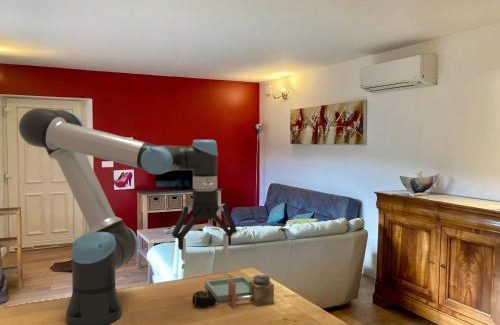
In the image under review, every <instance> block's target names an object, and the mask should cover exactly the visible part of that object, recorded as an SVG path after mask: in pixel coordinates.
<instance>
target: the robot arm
mask: <svg viewBox="0 0 500 325" xmlns="http://www.w3.org/2000/svg"><path fill="white" fill-rule="evenodd" d="M18 131H19V134H20V136H21V138H22V140H24V142H25V143H27V144H28V145H31V146H33V147H38V148H43V149H45V150H46V152H47V155H48V157H49V158H51V159H52V160H55V161H57V163H58V166H59V168H60V169H61V172H62V174H63V176H64V178H65V180H66V182H67V184H68V186H69V189H70V191H71V193H72V194H73V197H74V199H75V202H76V204H77V205H78V207H79V210H80V212H81V214H82V216H83V218H84V221H85V222H86V224H87V226H88V232H87V233H86V234H85V233H84V234H82V235H80V236H79V237H77V238H76V239H75V240H74V241H73V243H72V246H71V247H72V248H71V254H70V255H71V274H72V275H71V276H72V278H71V281H72V284H71V285H72V293H71V295H70V296H71V297H70V299H69V302H68V305H67V309H66V311H65V322H66V323H67V324H68V325H108V324H112V323H114V322H116V321H117V320H119V319H120V317H121V316H122V314H123V311H122V309H123V308H122V303H121V299H120V297H119V295H118V294H119V293H118V292H117V288H116V270H118V269H119V268H121V267H122V266H123V265H125V264H127V263H129V262H130V261H131V260H132V259H133V258H134V256H135V255H136V253H137V250H138V247H139V241H138V240H139V239H138V236H137V234H136V233H135V231H133V229H131V228H129V227H128V226H126V224H125V223H124V220H123V218H121V217H118V216H116V214H115V212H114V211H113V209H112V206H111V204H110V203H109V200H108V198H107V196H106V194H105V192H104V190H103V188H102V186H101V183H100V182H99V179H98V177H97V175H96V173H95V171H94V169H93V167H92V164H91V163H90V162H91V161H89V159H88V156H90V157H94V158H98V159H102V160H106V161H111V162H114V163H118V164H123V165H126V166H130V167H134V168H136V169H137V168H138V169H141V170H144V171H146V172H147V173H148V174H152V175H163V174H165V173H167V172H173V171H192V189H194V190H193V191H192V205H191V206H187V205H183V206H182V209H181V214H180V215H179V216H180V217H179V218H178V220H177V222H176V223H175V227H174V229H173V231H172V232H171V236H172V237H173V238H174V239H177V248H178V250H180V251H181V253H180V254H181V255H180V258H181V260H182V261H183V262H185V261H186V260H187V241H186V240H187V239H186V238H185V237H186V235H187V234H188V233H189V231H190V230H191V229H192V228H193V226H194V225H196V223H197V222H198V221H205V220H208V221H210V220H212V219H213V220H214V221H215V223H217V225H218V226H219V227H220V228H221V229H222V230H223V231H224V233H223V234H222V236H223V237H222V238H223V239H222V243H223V245H222V248H223V249H222V255H224V256H225V257H229V246H231V244H232V236H233V234H236V233H237V232H238V229H237V228H236V225H235V224H234V222H233V219H232V217H231V215H230V214H229V210H228V209H229V208H228V204H225V203H221V204H218V190H216V189H217V188H218V156H219V154H218V144H217V141H216V140H214V139H193V141H192V144H191V145H188V146H187V145H165V144H164V145H158V144H154V143H150V142H146V141H145V142H144V141H141V140H138V139H133V138H129V137H126V136H122V135H117V134H114V133H109V132H106V131H102V130H97V129H94V128H89V127H86V126H85V125H84V123H83V121H82V119H81V118H80V117H78V116H77V115H76V114H75V113H73V112H69V111H66V110H63V109H50V108H43V107H42V108H41V107H39V108H33V109H31V110H28V111H26V112H24V114H23V115H22V116H21V118H20V120H19V122H18ZM191 211H192V213H193V214H192V215H191V217H190V218H189V220H188V222H187V223H186V224H185V221H186V219H187V217H188V215H189V214H190V212H191ZM218 211H220V212H221V213H222V215H223V217H224V219H225V222H226V223H227V225H226V224H225V223H224V222H223V221H222V220H221V218H220V217H219V216H218V215H217V212H218ZM184 224H185V226H184ZM227 226H229V227H227Z"/></svg>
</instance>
